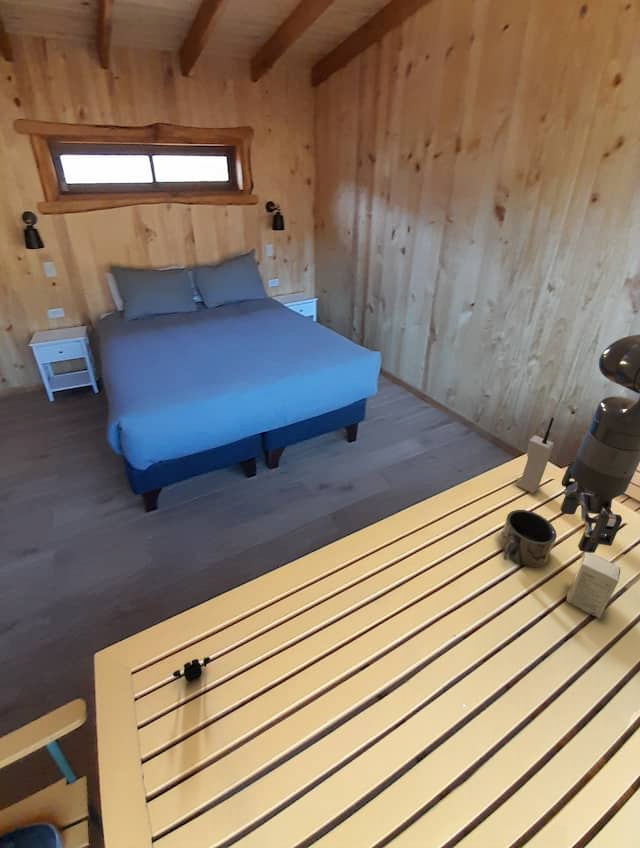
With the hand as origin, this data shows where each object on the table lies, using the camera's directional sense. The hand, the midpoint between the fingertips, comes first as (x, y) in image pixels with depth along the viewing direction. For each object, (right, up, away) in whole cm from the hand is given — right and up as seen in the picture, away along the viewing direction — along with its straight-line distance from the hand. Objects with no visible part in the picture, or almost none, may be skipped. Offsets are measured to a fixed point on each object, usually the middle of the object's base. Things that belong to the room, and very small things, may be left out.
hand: (575, 530), depth 72 cm
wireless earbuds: (-69, -30, +5) cm, 76 cm away
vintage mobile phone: (+21, -7, +48) cm, 52 cm away
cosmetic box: (+14, -23, +16) cm, 31 cm away
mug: (+6, -17, +28) cm, 33 cm away
